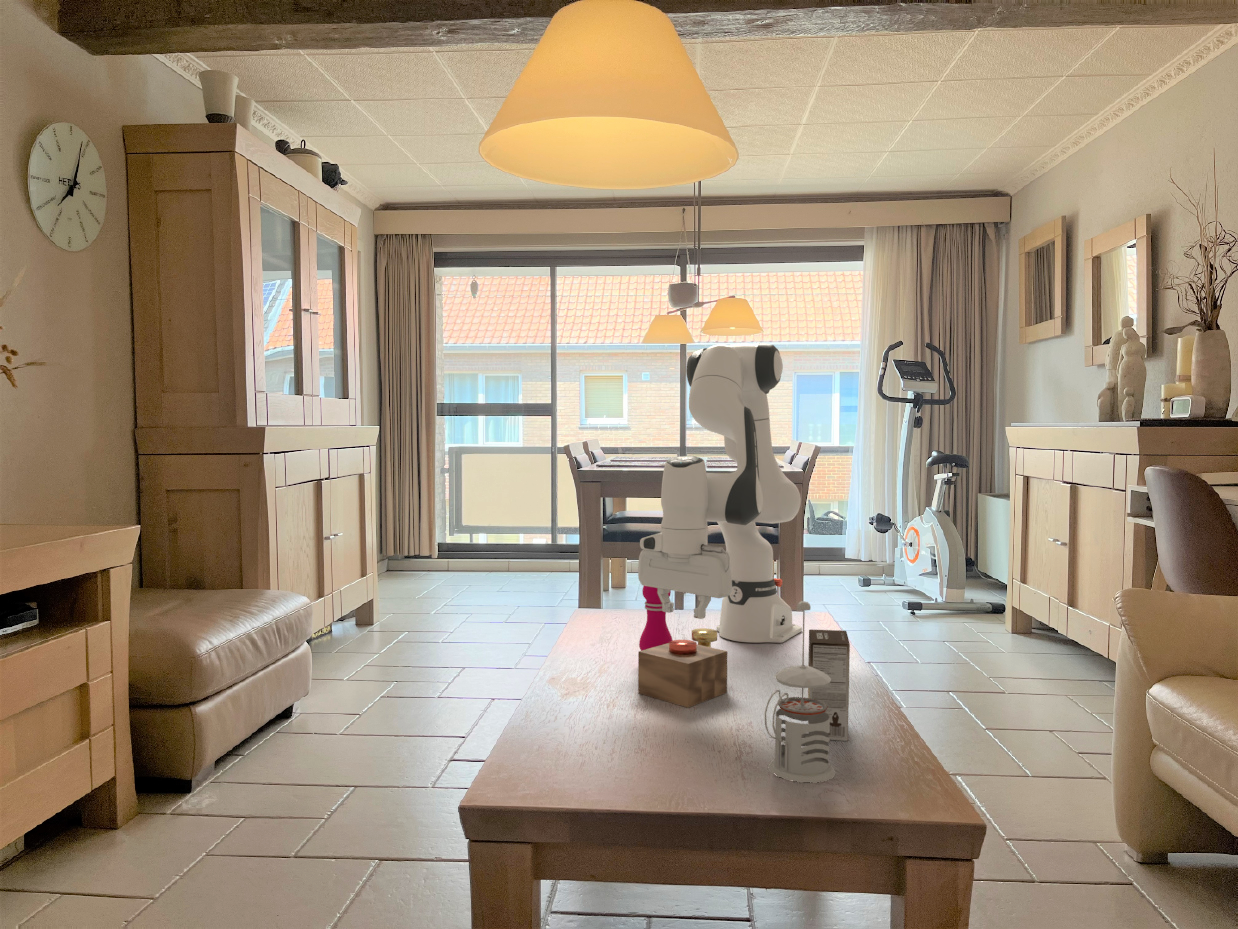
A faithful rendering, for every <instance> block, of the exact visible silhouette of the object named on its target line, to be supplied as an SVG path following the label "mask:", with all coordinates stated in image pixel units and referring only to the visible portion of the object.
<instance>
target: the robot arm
mask: <svg viewBox="0 0 1238 929" xmlns="http://www.w3.org/2000/svg"><path fill="white" fill-rule="evenodd" d="M685 370H686V371H685V372H686V377H687V378H686V379H687V383H688V385H689V390H690V391H689V396H688V410H689V412H690V415H691V417H692V418H693V419H694V420H695V422H696V423H697V424H699V426H701V427H702V428H704V429H706V430H707V431H709V432H710V433H714V434H718V435H721V436H723V441H724V442H723V443H724V452H725V454H726V455H727V456H728V457H729V459H731V460H732V461H734V462H735V463H736V465H737V466H736V467H737V469H736V470H734V471H732V472H728V473H725V472H723V473H722V472H707V468H706V462H705V460H704V459H703V458H701V457H698V456H694V455H681V456H680V455H679V456H674V457H671V458H670V459H668V460H666V461H665V463H664V468H663V474H662V480H661V495H660V505H661V509H662V520H661V523H660V532H658V533H655V534H651V535H649V536H645V537H642V538H641V539H639V546H640V547H639V548H640V549H641V551H640V553H639V556H638V564H637V566H638V567H637V568H638V569H637V572H638V573H637V576H638V581H639V583H640V584H641V586H649V587H655V588H658V596H659V598H660V600H661V602H662V611H663V612H666V613H668V614H669V613H673V612H674V611H675V610H674V609H675V608H674V607H675V603H674V602H673V601H671V599H670V597H669V596H668V593H670V590H671V591H673V592H680V593H686V594H690V595H696V596H697V597H698V600H697V601H700V602H699V604H698V607H696V608H693V618H694V619H698V620H703V619H705V618H706V616H707V615H706V609H707V608H708V606H709V604H710V602H711V601H712V598H714V599H721V608H720V617H719V618H720V620H719V624H718V625H716V629H715V630H716V631H717V632H718V633H719V634H718V635H719V636H720V637H721V638H723V639H726V640H731V641H734V642H739V643H740V642H741V643H754V644H755V643H757V644H758V643H780V644H781V643H784V642H786V641H788V640H790V639H792V637H794V636H796V635H798V634H799V633H801V632H803V626H800V625H797V624H794V623H793V611H792V608H791V606H790V605H789V604H787V602H785V600H784V599H782V597H780V595H779V594H778V590H777V587H778V588H781V587H782V586H783V584H784V583H783V579H782V578H776V577H774V575H773V574H774V571H773V570H774V569H773V568H774V549H773V546H772V545H771V543H770V542H769V541H768V540H767V539H766V538H764V537H763V536H762V535H761V533H760V532H759V530H758V528H757V525H756V523H762V524H781V523H786V522H791V521H792V520H794V518H795V517H796V516H797V515H798V513H799V511H800V508H801V503H802V499H801V494H800V491H799V488H798V487H797V485H796V484H795V483H794V482H792V481H791V480H790V478H788V477H787V476H786V475H785V473H784V472H783V471H782V469H781V468H780V465H779V464H778V462H777V459H776V457H775V453H774V450H773V445H772V434H771V420H770V408H769V400H768V395H767V394H769V393H770V391H771V390H772V389H774V388H776V386H777V385H778V384H779V382H780V381H781V379H782V378H781V377H782V373H783V360H782V356H781V354H780V351H779V349H778V348H777V347H776V346H775V345H774V344H770V343H764V342H763V343H762V342H760V343H758V344H757V343H756V344H755V343H734V344H730V345H727V344H714V345H712V346H709V347H708V348H706V347H705V348H701V349H698V350H695V351H693V352H692V353H691V354H690V355H689V357H688V359H687V362H686V369H685ZM708 522H713V523H717V524H718V527H719V528H720V531H721V534H722V536H723V539H724V544H725V548H726V549H724V547H722V546H713V545H709V544H708V540H709V539H708V537H709V536H708V535H709V534H708V531H709V529H708Z"/></svg>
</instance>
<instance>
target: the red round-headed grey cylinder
mask: <svg viewBox="0 0 1238 929" xmlns="http://www.w3.org/2000/svg"><path fill="white" fill-rule="evenodd" d="M672 640H673V641H670V642H669V652H670V653H673V654H677V655H691V654H695V653H696V652H697V645H698V642H697V641H693V640H692V639H691V640H689V639H672Z"/></svg>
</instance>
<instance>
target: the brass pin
mask: <svg viewBox="0 0 1238 929" xmlns="http://www.w3.org/2000/svg"><path fill="white" fill-rule="evenodd" d="M691 641H694V642H696V643H697V645H702V646H706V647H711V648H712V646H711V645H712V644H711V643H713V642H717V641H718V631H717V630H716V629H712V628H705V627H704V628H703V627H702V628H693V629H692V630H691Z"/></svg>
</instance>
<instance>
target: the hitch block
mask: <svg viewBox="0 0 1238 929" xmlns="http://www.w3.org/2000/svg"><path fill="white" fill-rule="evenodd" d="M637 659H638V666H637V667H638V668H637V670H638V673H637V674H638V676H637V678H638V679H637V681H638V682H637V684H638V685H637V688H638V689H637V694H639V695H644V696H647V697H650V698H654V699H657V700H661V701H663V702H667V703H670V704H674V705H678V706H680V707H684V708H687V709H688V708H690V707H691V708H692V707H693V706H696V705H699V704H702V703H703V702H706V701H710V700H712V699H713V698H714V699H715V698H717V697H720V696H722V695H725V694H727V693H728V651H727V650H724V649H720V648H719V649H718V648H715V647H712V646H711V647H706V646H702V645H698V644H697V652H696V653H695V654H691V655H677V654H673V653H670V652H669V643H667V644H663V645H660V646H656V647H653V648H649V649H646V650H642V651H641V650H638V658H637Z"/></svg>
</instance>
